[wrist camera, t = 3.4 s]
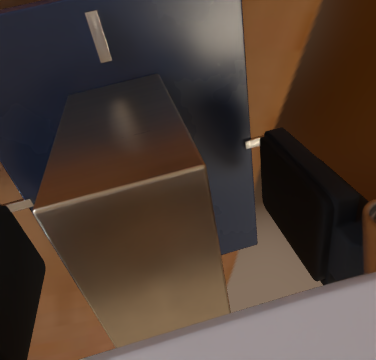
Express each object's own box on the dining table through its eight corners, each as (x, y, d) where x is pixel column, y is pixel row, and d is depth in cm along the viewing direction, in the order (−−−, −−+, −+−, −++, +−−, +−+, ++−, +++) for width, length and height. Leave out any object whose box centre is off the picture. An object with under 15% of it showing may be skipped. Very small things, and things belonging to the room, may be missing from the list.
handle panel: (-72, 25, 11) (-128, 42, 8) (240, -43, 12) (277, -48, 9) (67, 256, 18) (60, 305, 15) (255, 203, 18) (279, 240, 16)
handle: (67, 94, 10) (27, 221, 5) (158, 72, 10) (210, 171, 5) (128, 244, 14) (141, 399, 9) (193, 226, 14) (241, 367, 9)
